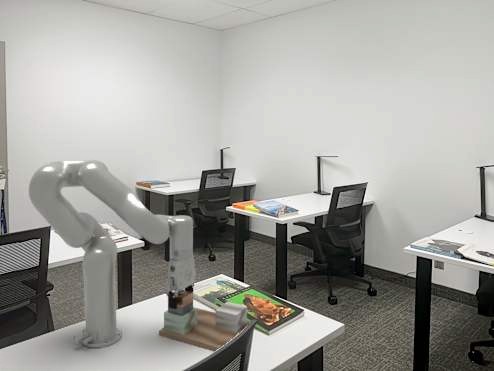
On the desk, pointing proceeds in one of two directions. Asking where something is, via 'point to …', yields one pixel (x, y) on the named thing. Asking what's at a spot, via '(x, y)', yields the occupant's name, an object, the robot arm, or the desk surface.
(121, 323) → the desk surface
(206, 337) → the stand board
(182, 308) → the housing
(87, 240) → the robot arm
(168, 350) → the desk surface
